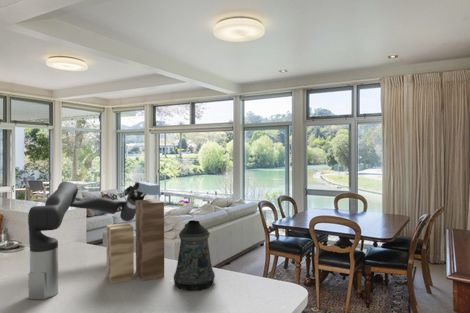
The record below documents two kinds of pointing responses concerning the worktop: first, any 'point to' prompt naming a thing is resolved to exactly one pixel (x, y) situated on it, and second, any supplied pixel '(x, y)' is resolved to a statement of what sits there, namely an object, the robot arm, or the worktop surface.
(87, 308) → the worktop surface
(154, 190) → the bar
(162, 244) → the walnut stand
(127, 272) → the oak tower
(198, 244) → the beer stein
